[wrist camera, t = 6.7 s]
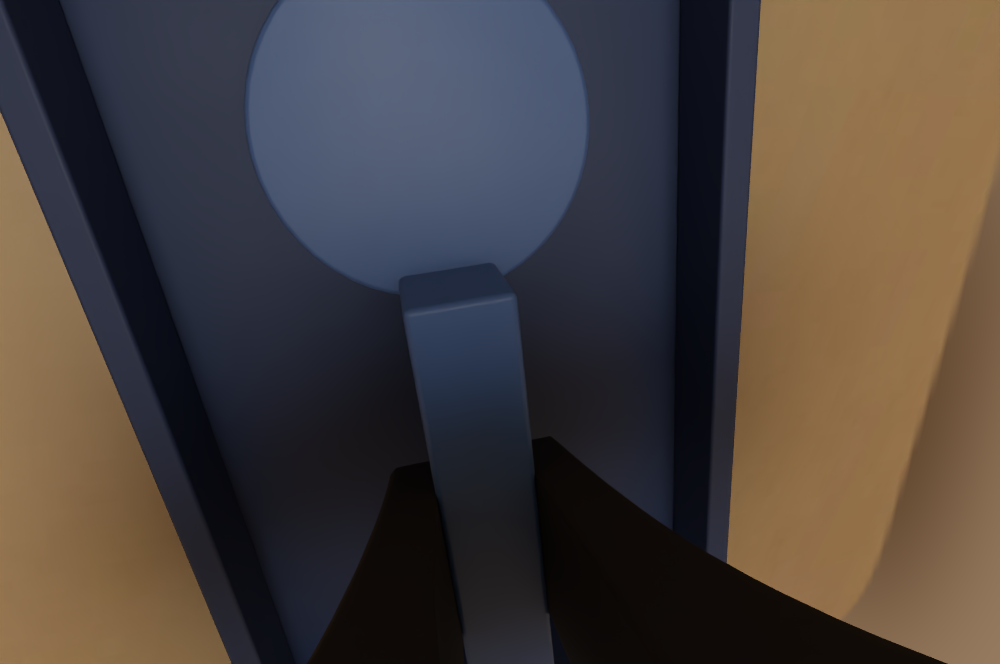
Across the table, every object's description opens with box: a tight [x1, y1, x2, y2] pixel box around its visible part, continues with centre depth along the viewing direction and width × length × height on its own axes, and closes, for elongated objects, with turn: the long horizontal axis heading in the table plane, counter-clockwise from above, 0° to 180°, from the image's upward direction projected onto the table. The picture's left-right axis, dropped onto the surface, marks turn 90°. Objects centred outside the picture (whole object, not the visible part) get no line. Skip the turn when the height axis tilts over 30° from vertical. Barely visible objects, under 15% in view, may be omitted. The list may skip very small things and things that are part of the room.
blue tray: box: [0, 0, 761, 664], centre depth 10 cm, size 16×10×2 cm, turn 6°
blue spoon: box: [244, 0, 589, 664], centre depth 9 cm, size 12×4×3 cm, turn 6°
